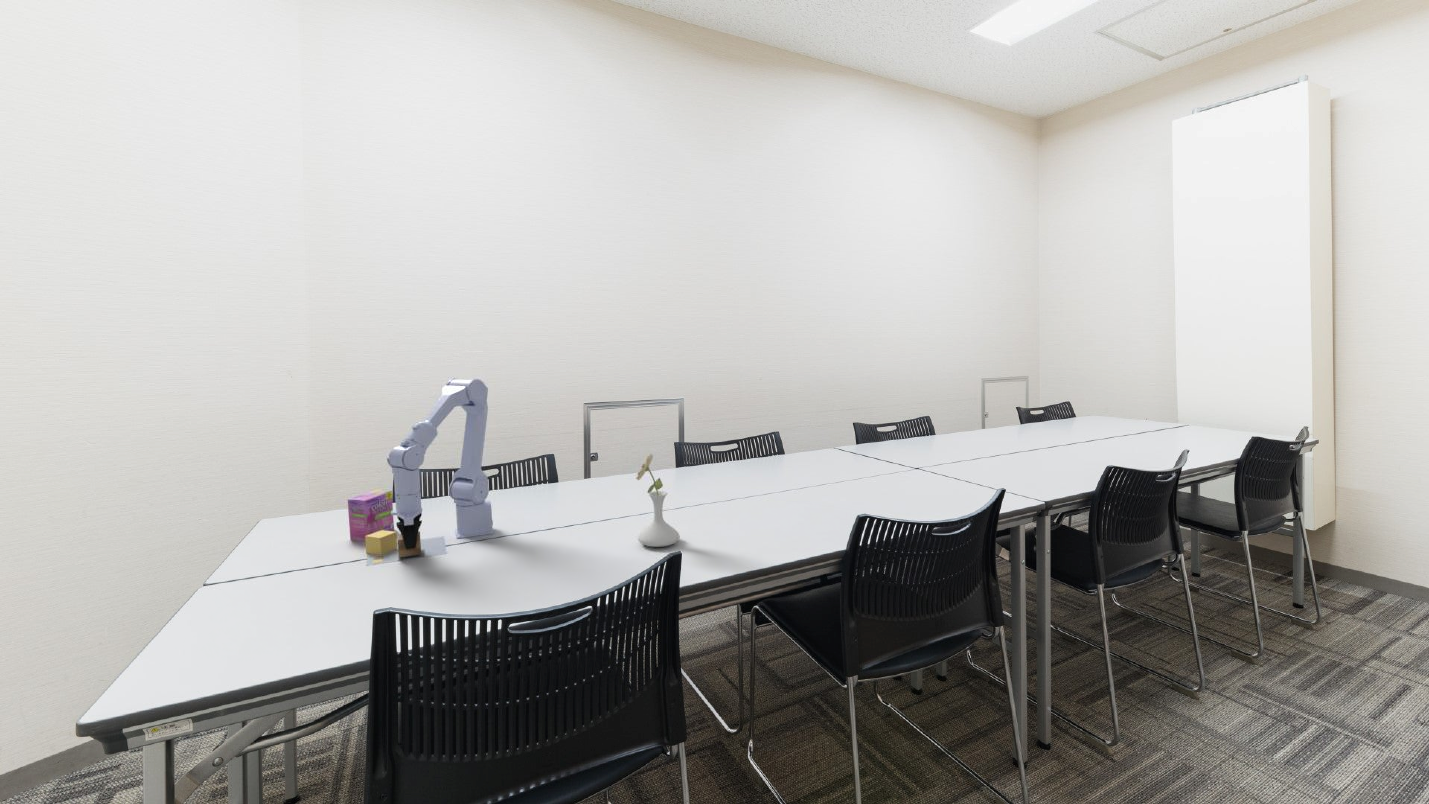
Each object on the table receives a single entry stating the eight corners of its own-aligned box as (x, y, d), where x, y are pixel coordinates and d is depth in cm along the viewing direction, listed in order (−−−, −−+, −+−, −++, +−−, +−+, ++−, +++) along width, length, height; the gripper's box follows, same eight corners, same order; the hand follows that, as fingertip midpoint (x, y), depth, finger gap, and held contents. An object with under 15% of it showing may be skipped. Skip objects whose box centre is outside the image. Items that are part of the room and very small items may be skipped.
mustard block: (382, 546, 158) (381, 530, 157) (397, 548, 156) (396, 531, 156) (366, 552, 153) (365, 536, 152) (381, 555, 151) (380, 538, 151)
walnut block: (420, 548, 155) (419, 531, 154) (421, 554, 150) (419, 537, 150) (399, 551, 152) (398, 534, 152) (398, 557, 148) (397, 540, 147)
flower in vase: (653, 533, 167) (652, 446, 165) (687, 540, 162) (686, 450, 159) (624, 548, 156) (622, 455, 153) (660, 555, 150) (658, 459, 148)
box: (367, 542, 162) (364, 500, 161) (349, 540, 163) (346, 499, 162) (395, 530, 172) (392, 490, 171) (378, 528, 173) (375, 489, 172)
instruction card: (444, 536, 166) (444, 535, 166) (446, 554, 152) (446, 553, 152) (370, 547, 158) (370, 546, 158) (365, 566, 144) (365, 565, 144)
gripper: (391, 488, 154) (394, 538, 156) (388, 502, 141) (392, 556, 143) (421, 485, 157) (424, 534, 159) (421, 498, 145) (424, 551, 146)
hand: (411, 544), depth 151 cm, fingers closed on walnut block, 5 cm apart
